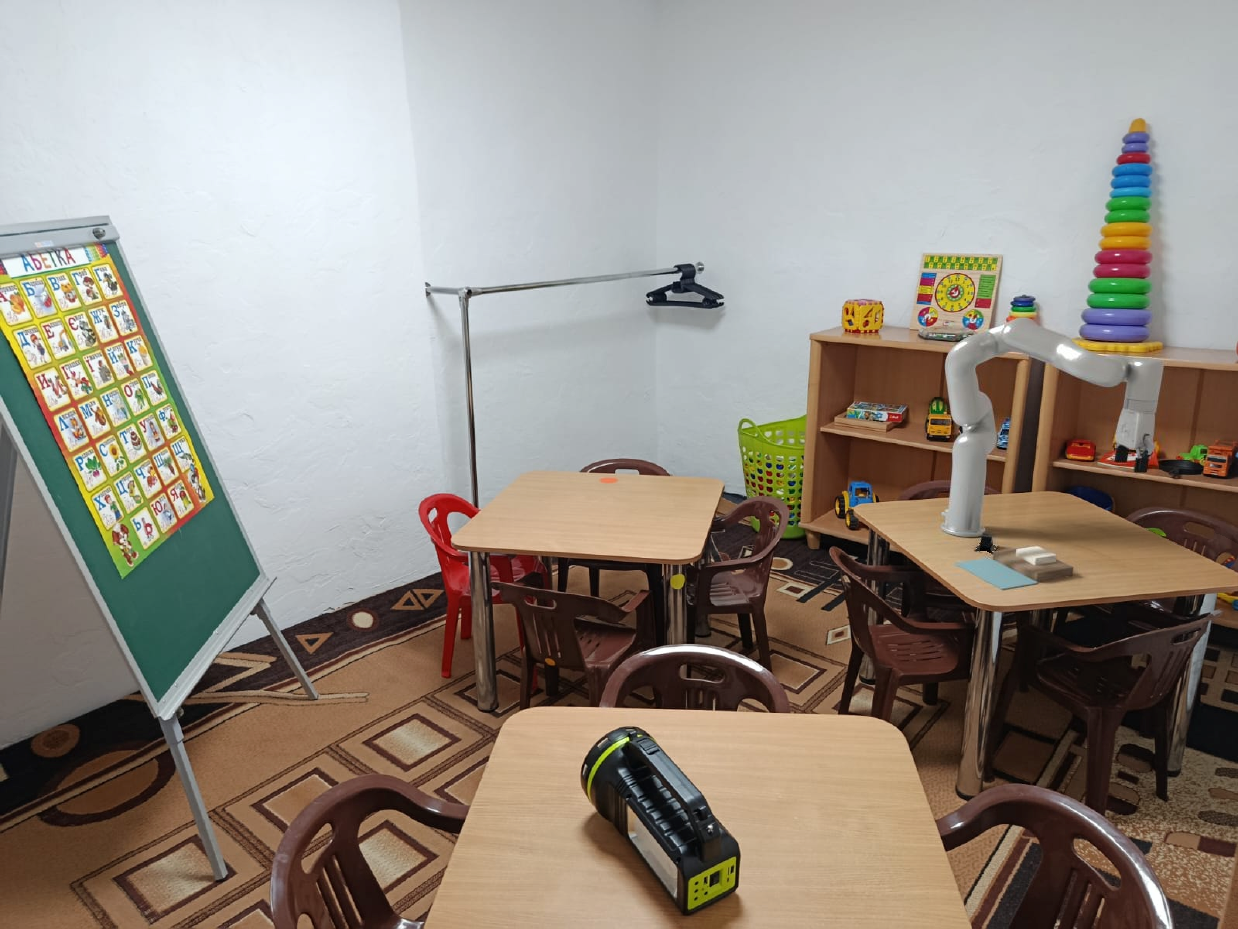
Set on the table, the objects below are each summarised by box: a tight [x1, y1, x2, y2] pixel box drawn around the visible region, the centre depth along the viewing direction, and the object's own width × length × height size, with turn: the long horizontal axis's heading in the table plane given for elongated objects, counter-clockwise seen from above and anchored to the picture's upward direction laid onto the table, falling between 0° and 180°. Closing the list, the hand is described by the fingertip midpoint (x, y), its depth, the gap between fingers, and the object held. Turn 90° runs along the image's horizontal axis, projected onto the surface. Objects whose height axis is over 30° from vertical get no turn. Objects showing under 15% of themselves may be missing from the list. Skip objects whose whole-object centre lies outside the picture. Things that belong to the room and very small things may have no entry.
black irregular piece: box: [974, 531, 998, 555], centre depth 241 cm, size 12×7×5 cm, turn 149°
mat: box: [954, 557, 1039, 591], centre depth 224 cm, size 18×12×1 cm, turn 18°
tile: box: [1016, 545, 1057, 565], centre depth 227 cm, size 7×7×2 cm
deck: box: [992, 545, 1074, 583], centre depth 227 cm, size 16×12×2 cm
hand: (1130, 467), depth 224 cm, fingers open, 9 cm apart
